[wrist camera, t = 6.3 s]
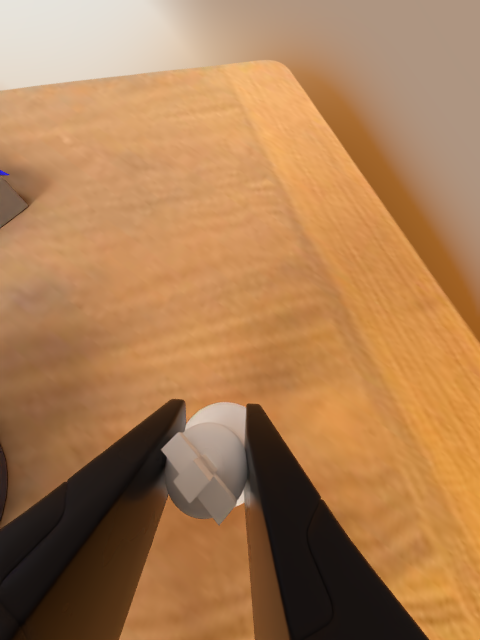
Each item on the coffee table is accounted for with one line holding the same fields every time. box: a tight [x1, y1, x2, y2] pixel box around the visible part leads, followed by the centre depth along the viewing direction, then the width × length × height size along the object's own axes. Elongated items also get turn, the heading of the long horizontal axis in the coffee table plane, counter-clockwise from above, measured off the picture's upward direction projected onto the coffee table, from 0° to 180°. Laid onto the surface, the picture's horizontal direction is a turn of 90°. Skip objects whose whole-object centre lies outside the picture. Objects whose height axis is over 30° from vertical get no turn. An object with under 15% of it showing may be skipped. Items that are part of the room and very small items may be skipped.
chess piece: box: [161, 402, 247, 525], centre depth 9 cm, size 5×5×10 cm
